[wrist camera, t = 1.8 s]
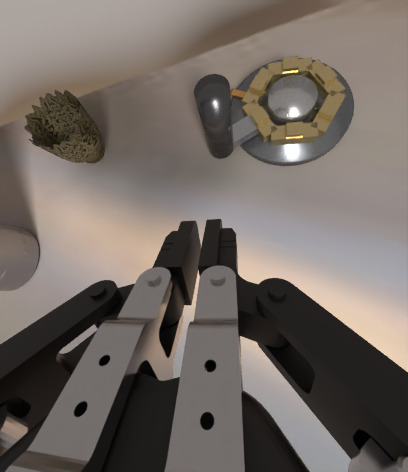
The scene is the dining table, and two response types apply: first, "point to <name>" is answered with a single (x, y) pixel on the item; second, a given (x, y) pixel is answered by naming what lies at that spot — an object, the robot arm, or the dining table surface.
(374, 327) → the dining table surface
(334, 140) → the steel flange
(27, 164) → the dining table surface
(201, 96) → the golden ring with handle
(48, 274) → the dining table surface
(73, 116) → the cup
